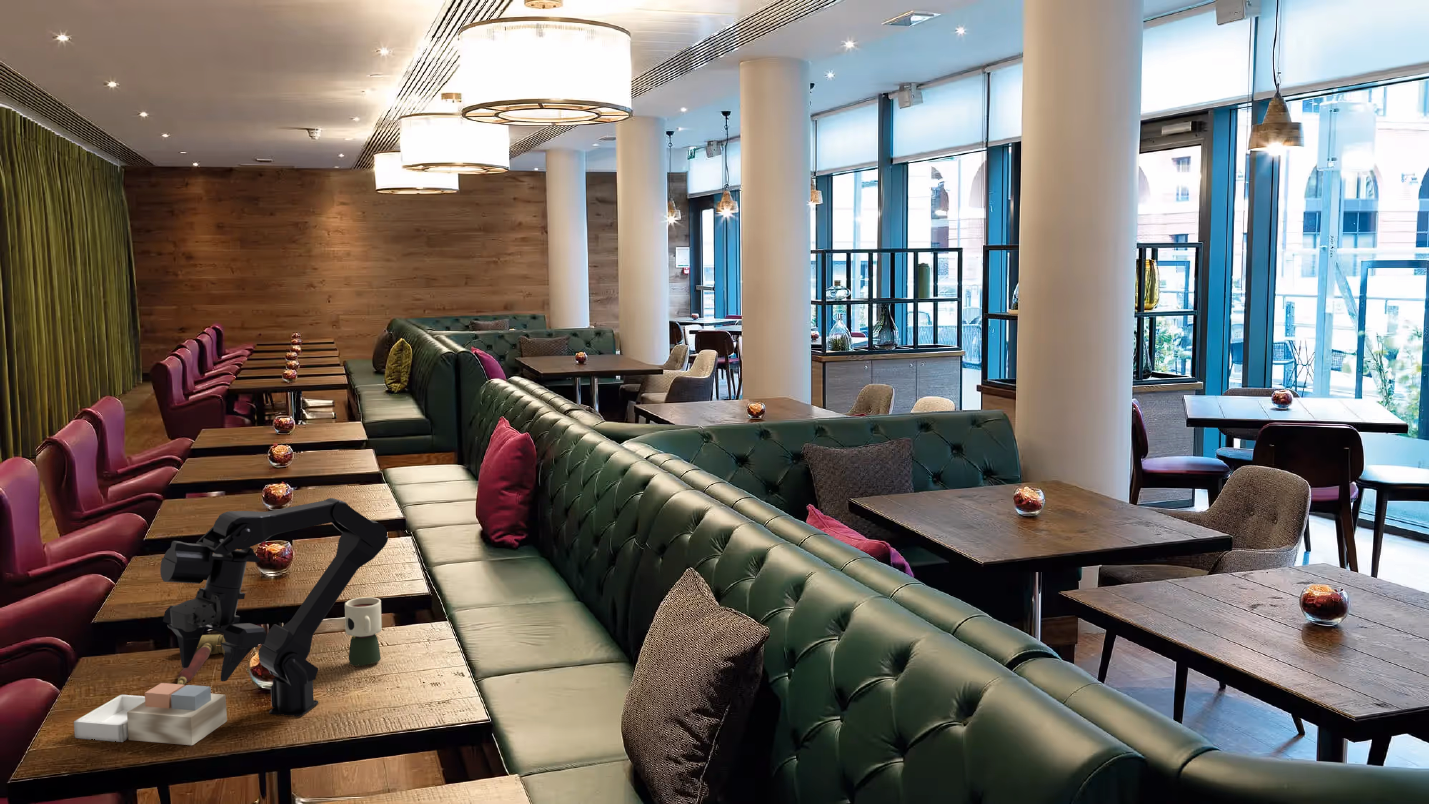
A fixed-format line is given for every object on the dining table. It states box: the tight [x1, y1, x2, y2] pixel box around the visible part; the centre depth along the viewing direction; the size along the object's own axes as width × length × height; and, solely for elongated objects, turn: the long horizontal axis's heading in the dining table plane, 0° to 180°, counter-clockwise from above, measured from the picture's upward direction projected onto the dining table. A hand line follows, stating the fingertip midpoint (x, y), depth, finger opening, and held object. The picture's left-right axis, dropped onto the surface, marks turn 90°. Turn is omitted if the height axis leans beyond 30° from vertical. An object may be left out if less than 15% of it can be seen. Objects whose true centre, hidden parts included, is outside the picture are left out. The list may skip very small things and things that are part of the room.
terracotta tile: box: [144, 682, 186, 708], centre depth 194 cm, size 4×4×2 cm
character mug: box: [344, 596, 382, 667], centre depth 226 cm, size 11×7×13 cm, turn 27°
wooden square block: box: [127, 693, 228, 746], centre depth 194 cm, size 12×10×5 cm
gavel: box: [176, 634, 225, 685], centre depth 224 cm, size 21×5×10 cm
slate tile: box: [171, 684, 212, 710], centre depth 193 cm, size 4×4×2 cm
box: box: [73, 694, 145, 743], centre depth 196 cm, size 9×12×3 cm
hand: (204, 674), depth 191 cm, fingers open, 9 cm apart
